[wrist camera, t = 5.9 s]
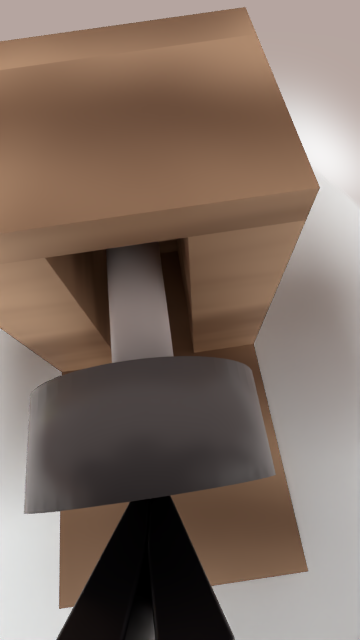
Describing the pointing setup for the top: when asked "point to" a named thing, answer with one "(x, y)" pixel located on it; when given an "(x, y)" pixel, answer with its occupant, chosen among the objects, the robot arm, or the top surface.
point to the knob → (142, 410)
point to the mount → (154, 233)
